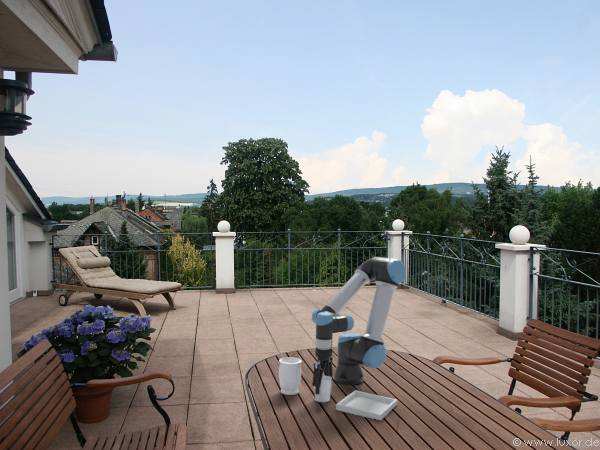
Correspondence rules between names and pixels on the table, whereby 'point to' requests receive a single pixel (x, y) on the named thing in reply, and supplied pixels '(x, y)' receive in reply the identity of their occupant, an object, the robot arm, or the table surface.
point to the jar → (289, 375)
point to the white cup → (325, 388)
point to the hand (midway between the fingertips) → (322, 397)
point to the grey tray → (366, 405)
